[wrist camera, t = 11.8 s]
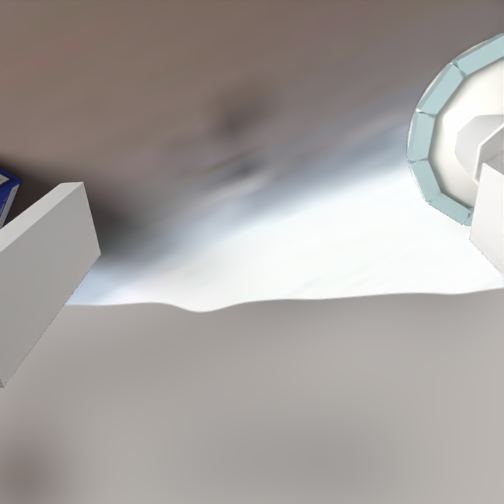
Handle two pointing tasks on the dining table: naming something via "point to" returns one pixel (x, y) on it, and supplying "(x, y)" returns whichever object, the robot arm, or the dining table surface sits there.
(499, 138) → the cup
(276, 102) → the dining table surface
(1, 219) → the milk carton
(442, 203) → the saucer
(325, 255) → the dining table surface
